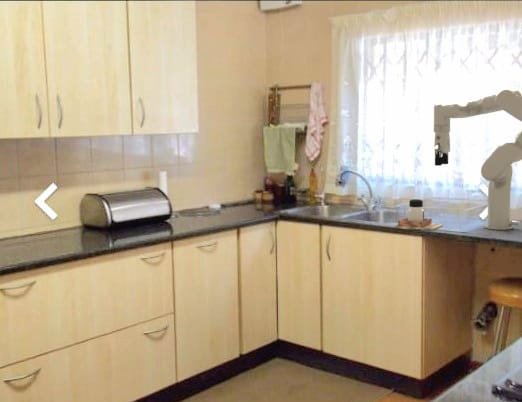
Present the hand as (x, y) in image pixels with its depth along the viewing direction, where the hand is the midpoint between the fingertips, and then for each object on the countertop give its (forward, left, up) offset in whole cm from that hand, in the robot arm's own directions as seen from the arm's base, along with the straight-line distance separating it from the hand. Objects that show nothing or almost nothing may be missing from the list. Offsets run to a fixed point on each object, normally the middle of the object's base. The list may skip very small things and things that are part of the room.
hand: (441, 164), depth 312 cm
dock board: (+5, +17, -28) cm, 33 cm away
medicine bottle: (+6, +17, -28) cm, 33 cm away
